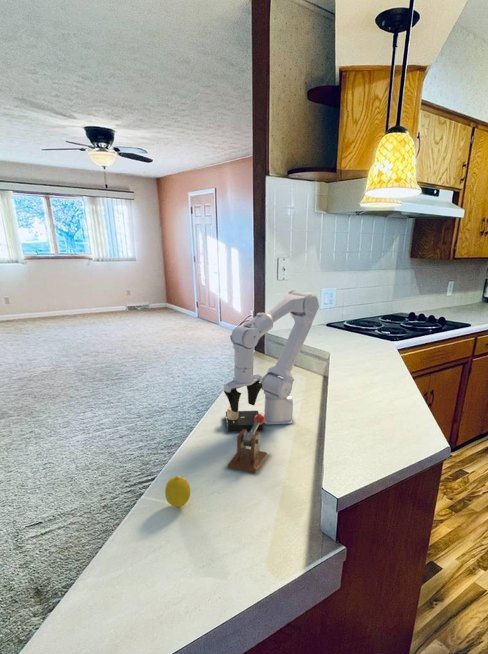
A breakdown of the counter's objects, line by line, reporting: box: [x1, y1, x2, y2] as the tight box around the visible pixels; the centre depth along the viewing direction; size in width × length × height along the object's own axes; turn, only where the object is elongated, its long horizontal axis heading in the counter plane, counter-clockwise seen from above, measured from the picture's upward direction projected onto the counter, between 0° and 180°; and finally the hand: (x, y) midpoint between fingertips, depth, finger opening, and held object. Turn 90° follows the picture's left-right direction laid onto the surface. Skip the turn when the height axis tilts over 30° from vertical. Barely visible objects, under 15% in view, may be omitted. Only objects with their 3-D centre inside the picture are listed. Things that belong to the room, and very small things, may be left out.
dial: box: [226, 405, 238, 420], centre depth 134 cm, size 4×4×4 cm
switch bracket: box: [227, 429, 268, 474], centre depth 113 cm, size 10×8×9 cm
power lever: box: [243, 413, 264, 448], centre depth 115 cm, size 12×3×3 cm, turn 164°
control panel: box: [220, 410, 263, 433], centre depth 135 cm, size 13×11×3 cm
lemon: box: [164, 475, 191, 508], centre depth 93 cm, size 6×6×8 cm
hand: (243, 407), depth 129 cm, fingers open, 7 cm apart
